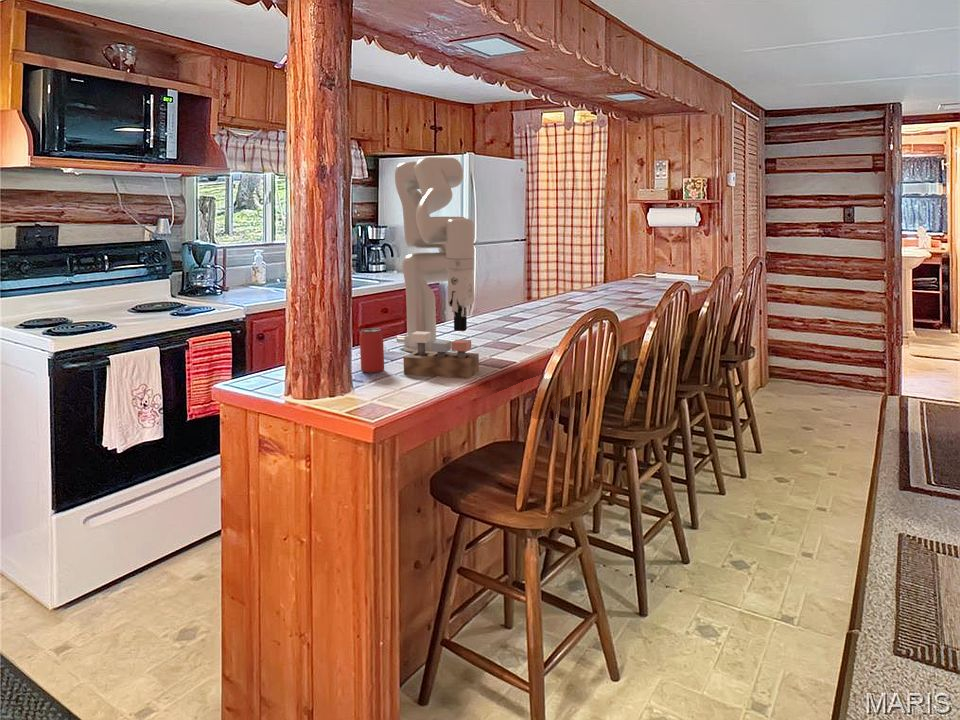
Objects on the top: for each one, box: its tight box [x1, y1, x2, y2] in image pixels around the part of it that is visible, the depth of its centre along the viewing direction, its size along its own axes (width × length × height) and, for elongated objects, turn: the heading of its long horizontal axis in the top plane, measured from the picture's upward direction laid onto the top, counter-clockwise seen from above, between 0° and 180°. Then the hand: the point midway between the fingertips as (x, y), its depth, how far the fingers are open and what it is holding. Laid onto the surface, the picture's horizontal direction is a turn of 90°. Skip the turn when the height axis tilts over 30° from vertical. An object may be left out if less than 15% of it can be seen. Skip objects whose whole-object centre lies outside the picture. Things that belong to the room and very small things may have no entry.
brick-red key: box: [450, 339, 472, 358], centre depth 201 cm, size 4×4×7 cm
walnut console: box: [403, 350, 480, 379], centre depth 203 cm, size 19×10×5 cm, turn 73°
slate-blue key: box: [431, 339, 452, 357], centre depth 203 cm, size 4×4×7 cm
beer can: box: [359, 327, 385, 374], centre depth 205 cm, size 7×7×12 cm
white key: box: [411, 331, 431, 356], centre depth 204 cm, size 4×4×7 cm
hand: (460, 330), depth 200 cm, fingers closed
